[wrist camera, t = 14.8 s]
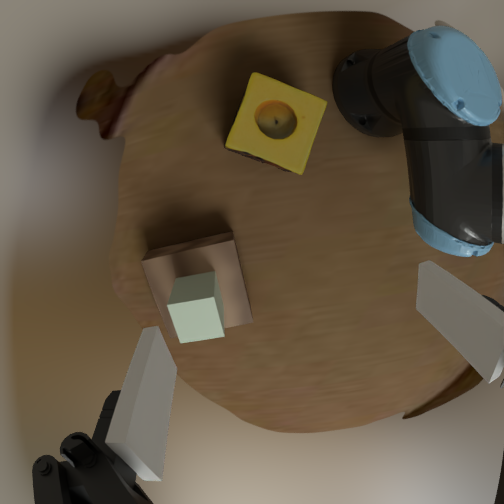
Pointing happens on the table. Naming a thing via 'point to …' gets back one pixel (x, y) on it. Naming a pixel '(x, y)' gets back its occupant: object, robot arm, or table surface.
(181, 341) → the sage block
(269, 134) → the candle
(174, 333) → the walnut block
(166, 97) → the table surface
